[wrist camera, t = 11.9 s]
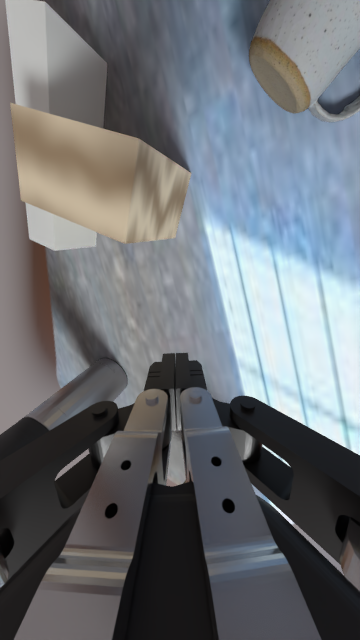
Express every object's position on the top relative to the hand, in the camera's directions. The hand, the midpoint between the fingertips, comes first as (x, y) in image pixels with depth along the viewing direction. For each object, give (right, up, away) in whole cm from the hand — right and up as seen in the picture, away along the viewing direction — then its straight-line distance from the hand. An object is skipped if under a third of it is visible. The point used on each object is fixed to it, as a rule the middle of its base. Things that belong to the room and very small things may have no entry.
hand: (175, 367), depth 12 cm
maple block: (-6, +21, +17) cm, 27 cm away
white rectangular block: (-14, +26, +18) cm, 34 cm away
